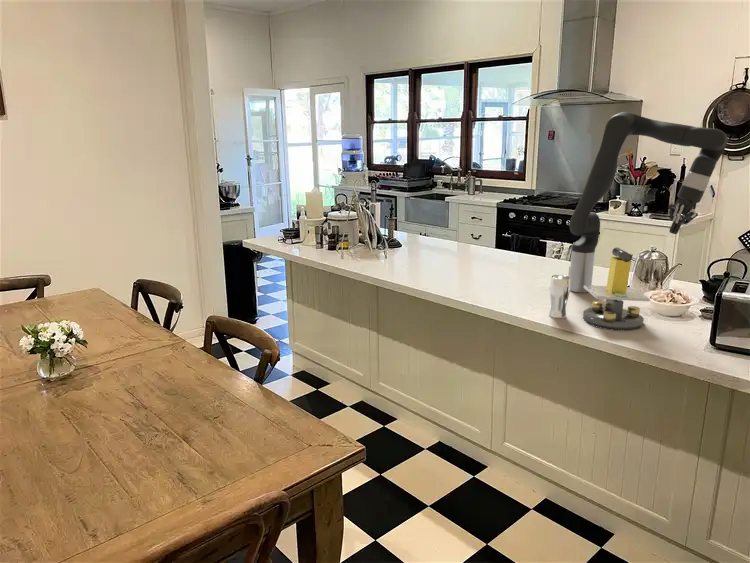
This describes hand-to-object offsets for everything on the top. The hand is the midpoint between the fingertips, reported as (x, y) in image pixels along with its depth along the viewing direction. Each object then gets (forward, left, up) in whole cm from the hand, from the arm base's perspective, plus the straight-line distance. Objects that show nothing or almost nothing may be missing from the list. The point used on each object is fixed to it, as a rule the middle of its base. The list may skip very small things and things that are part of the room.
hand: (672, 233), depth 199 cm
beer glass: (-7, -40, -31) cm, 50 cm away
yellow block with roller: (+3, -24, -20) cm, 31 cm away
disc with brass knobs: (+3, -24, -30) cm, 38 cm away
